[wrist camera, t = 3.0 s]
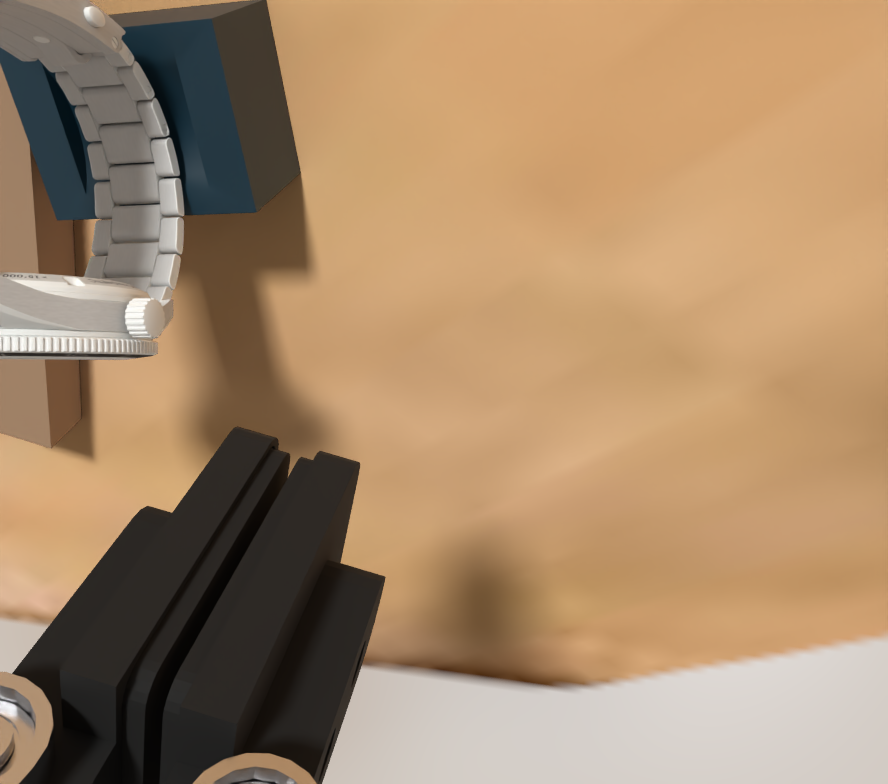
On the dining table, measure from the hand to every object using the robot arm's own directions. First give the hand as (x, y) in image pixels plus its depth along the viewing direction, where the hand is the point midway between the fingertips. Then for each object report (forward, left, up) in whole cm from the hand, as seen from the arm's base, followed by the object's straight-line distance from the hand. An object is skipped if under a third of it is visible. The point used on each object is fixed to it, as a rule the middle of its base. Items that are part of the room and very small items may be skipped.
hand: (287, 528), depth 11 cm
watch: (0, -8, -14) cm, 16 cm away
